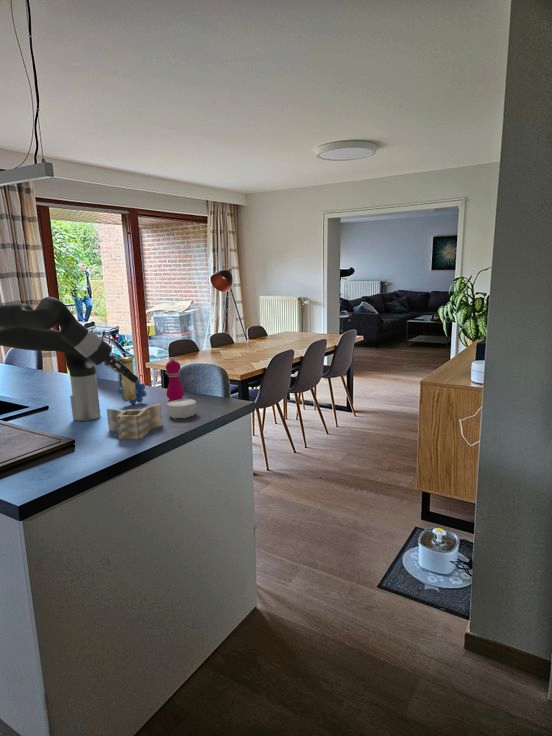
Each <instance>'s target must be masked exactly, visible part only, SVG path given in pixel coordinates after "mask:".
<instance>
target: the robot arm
mask: <svg viewBox="0 0 552 736" xmlns="http://www.w3.org/2000/svg"><path fill="white" fill-rule="evenodd" d="M57 324H58V326H59V327H60V329H59V330H57V329H54V327H55V326H56V325H57ZM0 346H1V347H6V348H11V349H12V348H13V349H18V350H26V351H33V352H34V351H38V352H60V353H64V358H65V365H66V368H67V370H68V372H69V380H70V387H71V393H72V394H71V395H69V396H70V397H69V398H70V405H71V413H72V420H73V421H77V420H78V421H80V422H83V421H84V422H88V421H94V420H97V419H99V418H100V417H101V407H100V399H99V388H98V379H97V374H96V373H97V371H96V367H95V365H96V366H100V365H101V364H102V363H104V366H106V367H107V368H109V369H111V370H112V371H114V372H116V373H117V374H119V375H121V374H122V375H123V376H125V377H127V378H128V379H129V380H131V381H132V382H133V383H135V382H136V381H137V380H138V379H139V377H138V376H137V375H136V374H135V373H134V374H133V373H132V372H130V369H128V368H127V367H125V365H124V364H123V363H122V362H120V361H119V358H118V357H116V356H114V355H112V354H111V353H112V351H113V347H112V346H111V345H110V344H108V343H107V342H106V341H105V340H103V339H102V337H100V336H98V334H96V333H95V332H92V330H89V329H88V328H87V327H86V326H84V325H83V324H82V323H81V322H79V320H77V318H76V316H74V314H73V313H72V312H71V311H70V309H69V308H68V307H67V305H66V304H65V303H64V302H63V301H61V300H60V299H59V298H56V297H53V296H46V297H44V298H42V299H41V301H40V302H39V303H38V305H37V306H36V307H35V309H33V307H32V306H31V305H29V304H27V303H15V304H14V303H13V304H12V303H11V304H10V303H9V304H0ZM110 354H111V355H110ZM124 369H126V371H125V372H124V373H123V370H124ZM78 421H77V422H78Z"/></svg>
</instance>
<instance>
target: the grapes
mask: <svg viewBox="0 0 552 736" xmlns="http://www.w3.org/2000/svg"><path fill="white" fill-rule="evenodd" d="M145 389H146V385H145V384H144V383H142V382H141V381H140V379H139V378H138V380H137V381H136V382H135V391H136V399H134V400H124V397H123V387H122V380H121V381H120V382H119V388H118V391H117V392H118V394H119V395H120V396H122V397H121V399H122V401H124V402H128V403H130V404H131V405H135V404H136V403H139V404H141V403H143V401H144V398H145V397H147V391H146V390H145Z"/></svg>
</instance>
